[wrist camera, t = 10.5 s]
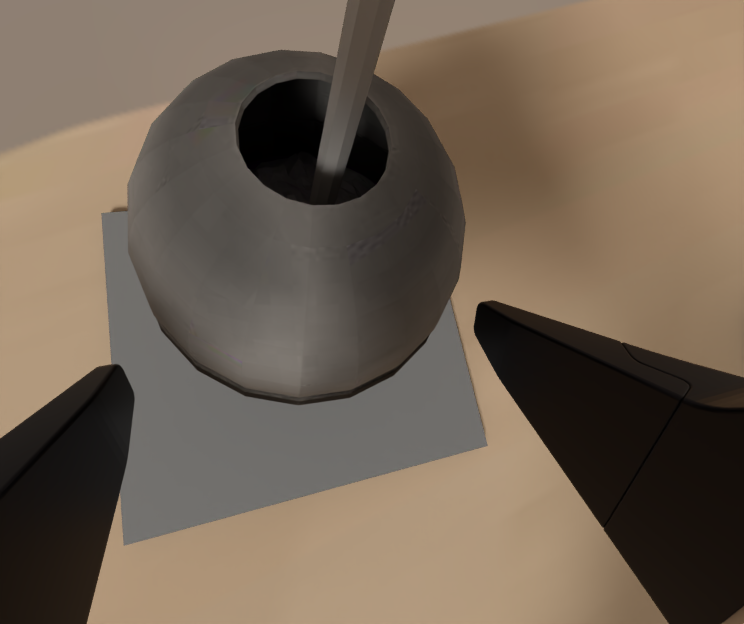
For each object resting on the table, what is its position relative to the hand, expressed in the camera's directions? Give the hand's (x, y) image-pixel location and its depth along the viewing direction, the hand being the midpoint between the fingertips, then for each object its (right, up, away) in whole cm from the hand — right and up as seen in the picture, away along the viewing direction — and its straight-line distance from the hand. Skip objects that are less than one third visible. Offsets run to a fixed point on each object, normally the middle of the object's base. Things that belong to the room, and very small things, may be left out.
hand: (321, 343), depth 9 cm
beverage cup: (-3, 0, +11) cm, 11 cm away
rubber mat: (-3, -1, +11) cm, 11 cm away
